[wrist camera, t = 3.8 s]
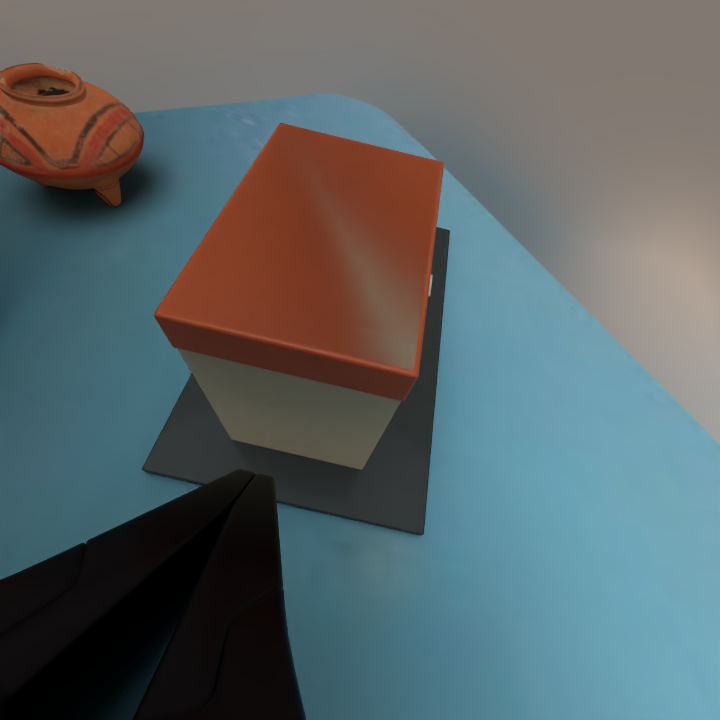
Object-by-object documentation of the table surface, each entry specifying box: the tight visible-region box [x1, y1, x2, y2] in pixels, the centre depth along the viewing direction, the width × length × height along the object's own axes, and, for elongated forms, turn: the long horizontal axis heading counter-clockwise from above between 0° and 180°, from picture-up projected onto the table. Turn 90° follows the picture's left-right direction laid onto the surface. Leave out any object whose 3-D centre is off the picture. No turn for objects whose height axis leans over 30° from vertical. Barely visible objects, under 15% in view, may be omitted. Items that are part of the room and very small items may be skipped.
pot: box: [0, 63, 145, 207], centre depth 21 cm, size 8×8×7 cm
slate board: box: [142, 227, 450, 535], centre depth 20 cm, size 20×12×1 cm, turn 169°
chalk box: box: [154, 123, 444, 470], centre depth 14 cm, size 9×6×9 cm
